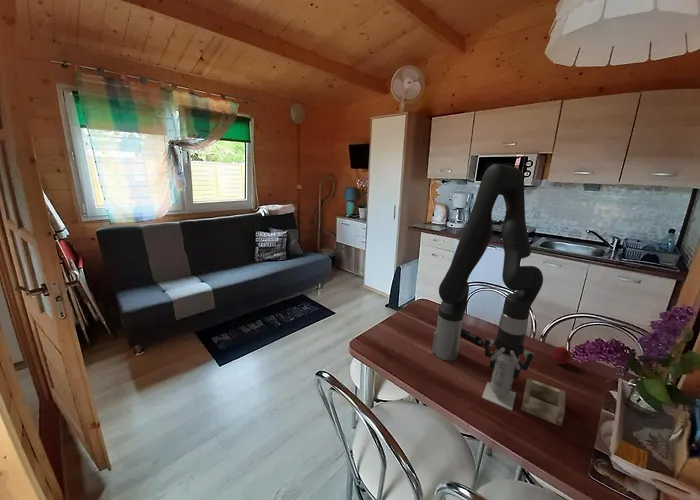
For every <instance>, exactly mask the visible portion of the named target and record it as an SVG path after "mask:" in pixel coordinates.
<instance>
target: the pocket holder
mask: <svg viewBox="0 0 700 500" xmlns="http://www.w3.org/2000/svg"><path fill="white" fill-rule="evenodd" d="M520 410H521V411H523V412H525V413H527V414H530V415H532V416H534V417H538V418H540V419H542V420H544V421H548V422H549V423H551V424H555V425H557V426H559V427H562V424H563V421H564V417H565V415H566V414H565V413H566V391H565V390H563V389H559V388H556V387H554V386H551V385H549V384H545V383H543V382H540V381H536V379H535V380H534V379H531V378H529V377H527V379H526V382H525V388H524V392H523V396H522V400H521V407H520Z"/></svg>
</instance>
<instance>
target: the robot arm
mask: <svg viewBox="0 0 700 500" xmlns="http://www.w3.org/2000/svg"><path fill="white" fill-rule="evenodd" d="M522 171H523V170H521V169H519V168H518V167H516V166H513V165H507V164H502V163H493V164H492V165H490V166H488V168H487V169H486V170H485V172H484V173H483V176H482V177H481V181H480V183H479V187H478V191H477V194H476V198H475V201H474V203H473V206H472V209H471V211H470V214H469V217H468V219H467V221H466V224H465V226H464V229H463V231H462V233H461V236H460V238H459V241H458V244H457V246H456V249H455V252H454V255H453V258H452V261H451V264H450V266H449V267H448V270H447V272H446V274H445V276H444V277H443V279H442V281H441V283H440V284H439V287H438V295H439V298H440V300H442V301H441V303H440V305H439V308H438V313H437V323H436V329H435V331H434V334H433V339H432V340H433V342H432V349H431V354H433V355H435V356H436V358H437V359H441V360H443V361H448V362H449V361H455V360H457V358H458V355H459V347H460V341H461V329H463V328H462V327H463V320H464V315H465V312H466V309H467V305H468V299H469V293H470V292H469V291H470V285H469V282H468V280H469V278H470V276H471V274H472V272H473V270H474V269H475V268H476V266H477V265H478V264H479V262H480V261H481V259H482V257H483V256H484V254H485V252H486V250H487V249H488V246H489V244H490V241H491V240H492V237H493V230H494V229H493V221H492V217H493V216H492V214H493V210H494V206H495V204H496V201H497V199H498V197H499V195H500V196H502V198H503V200H504V203H505V215H504V219H503V221H502V226H501V242H502V246H503V251H504V254H503V255H504V257H503V265H502V274H501V277H502V282H503V284H504V285H505V287H506V288H507V289H508V290H511V291H515V292H513V293H510V294H508V295H506V296H505V299H504V302H503V309H502V312H501V315H500V318H499V323H498V330H497V335H496V338H495V339H492V338H490V337H489V336H487V337H486V338H485V340H484V356H485V358H489V359H490V360H489V367H488V368H490V370H491V371H493V370H494V364H495V359H496V357H497V356H499V355H500V354H501V353H506V354H509V355H511V356H512V358H513V360H514V362H515V366H516V368H515V372H514V376H513V380H514V379H515V380H516V378H520V377H519V376H520V373H521V370H524V371H528V370H529V367H530V366H531V365H530V364H531V363H532V361H533V358H534V353H535V351H533V350H527V349H525V347H524V344H525V339H526V336H527V335H526V334H527V331H528V327H529V326H528V325H529V316H530V311H531V307H532V304H533V303H534V301H535V300H536V298H537V296H538V295H539V293H540V291H541V290H542V287H543V283H544V276H543V272H542V270H541V269H540V268H539V267H537V266H533V265H521V261H522V260H523V259H526V258H528V257H530V255H531V254H532V250H531V244H530V240H529V235H528V234H529V233H528V228H527V224H526V223H527V222H526V207H525V206H526V204H525V203H526V201H525V198H526V197H525V178H524V173H523V172H522ZM493 345H494V346H495V348H496V349H495V350H494V352H493V353H492V352H491V347H492V346H493ZM522 354H523V355H524V358H525V361H524V362H523V363H522V362H521V360H520V356H521V355H522Z"/></svg>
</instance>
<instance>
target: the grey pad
mask: <svg viewBox="0 0 700 500" xmlns="http://www.w3.org/2000/svg"><path fill="white" fill-rule="evenodd" d="M490 385H491V381H490V382H489V381H487V382H486V385H485V388H484V390H483V393H482V396H481V399H483V400H484V401H485V400H486V401H488V402H490V403H493V404H495V405H498V407H499V406H500V407H502V408H504V409H506V410H509V411H513V408H514V405H515V399H516V396H517V392H515V391H512V390H511V392H510V394H509V395H507V396H499V395H497V394H495V393H494V392H493V391H492V389H491V386H490Z"/></svg>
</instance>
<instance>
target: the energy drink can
mask: <svg viewBox="0 0 700 500" xmlns="http://www.w3.org/2000/svg"><path fill="white" fill-rule="evenodd" d="M515 368H516V366H515V362H514V360H513V358H512V356H511V355H509V354H506V353H501V354H500V355H499V356H497V357H496V359H495V364H494V370H492V376H491V381H490V383H491V385H490V386H491V389H492V391H493V392H494V393H495V394H497V395H499V396H507V395H509V394H510V392H511V391H512V386H513V382H514V378H513V376H514V372H515Z"/></svg>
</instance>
